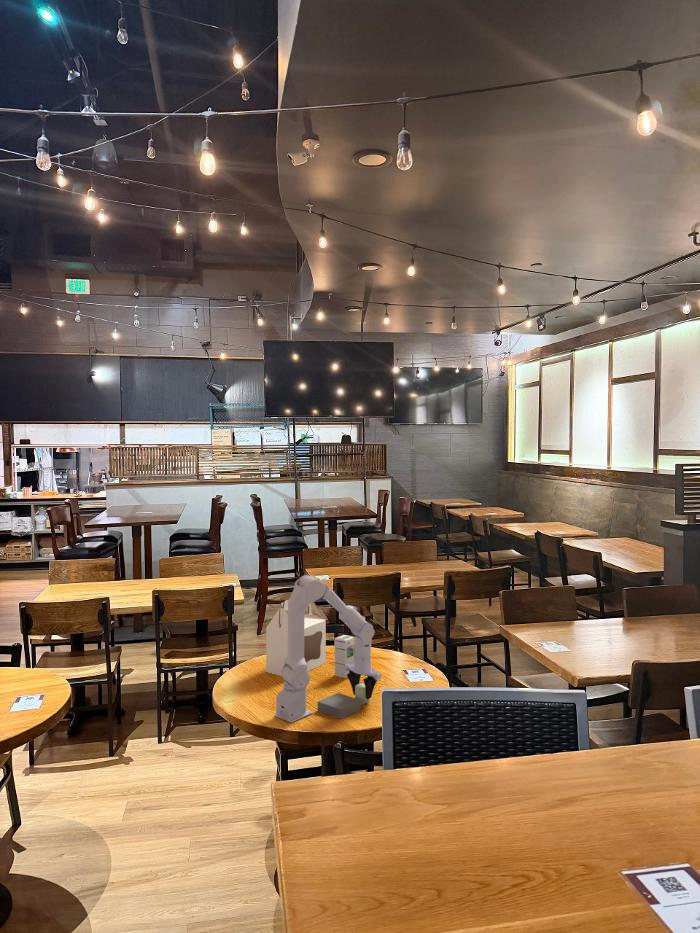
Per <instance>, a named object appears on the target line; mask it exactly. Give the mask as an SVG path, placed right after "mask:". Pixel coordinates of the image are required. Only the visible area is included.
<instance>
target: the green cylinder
mask: <svg viewBox="0 0 700 933" xmlns="http://www.w3.org/2000/svg"><path fill="white" fill-rule="evenodd" d="M354 698H355V699H358V700H361V705H363V704H365V705H366V704H369V703H370V700H371V698H369V699H366V689H365V684H364V683H359V684H357V685H355V695H354Z"/></svg>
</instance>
